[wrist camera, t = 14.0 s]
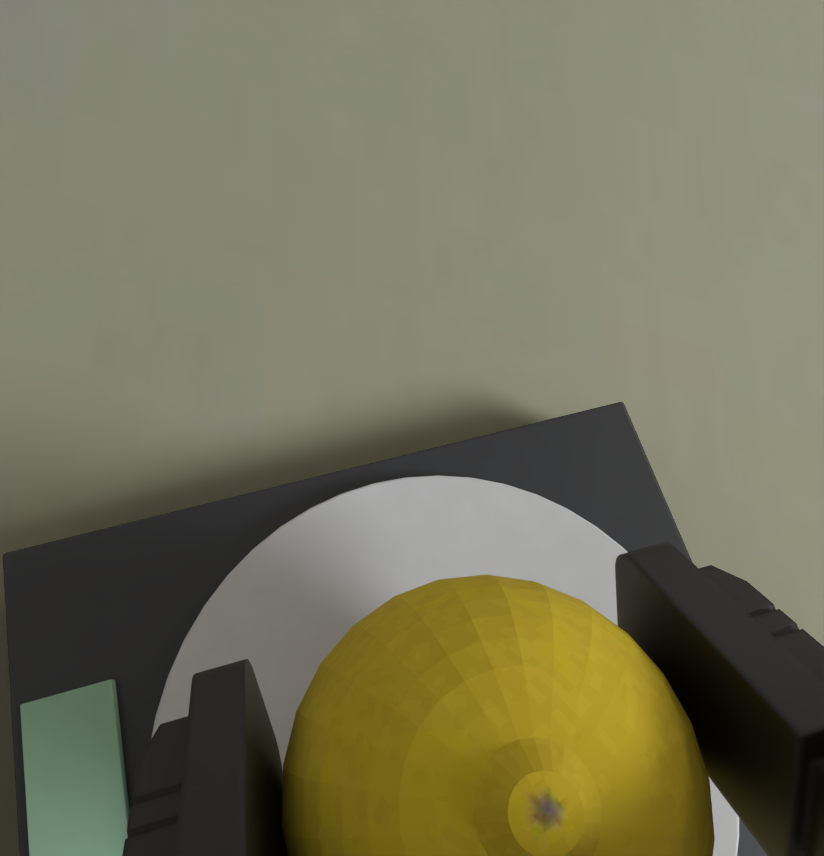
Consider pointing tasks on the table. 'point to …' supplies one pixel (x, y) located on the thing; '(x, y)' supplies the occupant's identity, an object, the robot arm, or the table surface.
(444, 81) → the table surface
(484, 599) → the lemon
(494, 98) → the table surface
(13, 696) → the scale
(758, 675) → the robot arm
